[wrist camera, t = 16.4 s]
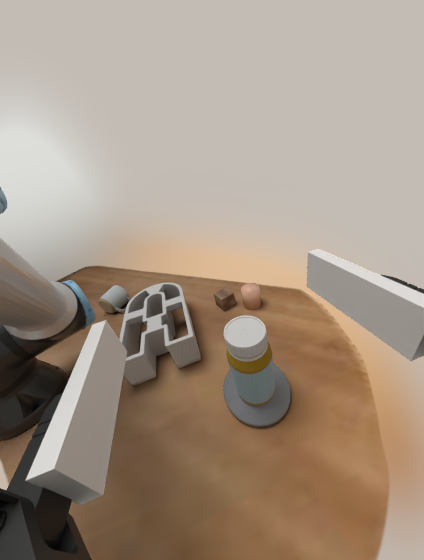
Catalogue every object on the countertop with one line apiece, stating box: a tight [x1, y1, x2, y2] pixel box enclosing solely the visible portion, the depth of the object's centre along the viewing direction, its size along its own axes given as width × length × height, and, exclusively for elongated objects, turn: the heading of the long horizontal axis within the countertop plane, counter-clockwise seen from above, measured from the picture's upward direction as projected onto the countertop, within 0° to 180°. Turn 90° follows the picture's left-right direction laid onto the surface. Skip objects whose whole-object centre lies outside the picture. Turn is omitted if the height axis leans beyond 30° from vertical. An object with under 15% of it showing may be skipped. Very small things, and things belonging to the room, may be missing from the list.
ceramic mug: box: [99, 285, 131, 313], centre depth 70 cm, size 11×8×8 cm
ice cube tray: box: [119, 283, 201, 386], centre depth 53 cm, size 17×28×9 cm, turn 15°
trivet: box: [224, 364, 291, 428], centre depth 36 cm, size 12×12×1 cm
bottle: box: [224, 316, 275, 406], centre depth 32 cm, size 7×7×15 cm
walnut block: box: [214, 288, 236, 311], centre depth 59 cm, size 4×4×4 cm
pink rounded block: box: [241, 283, 261, 310], centre depth 55 cm, size 5×5×6 cm
